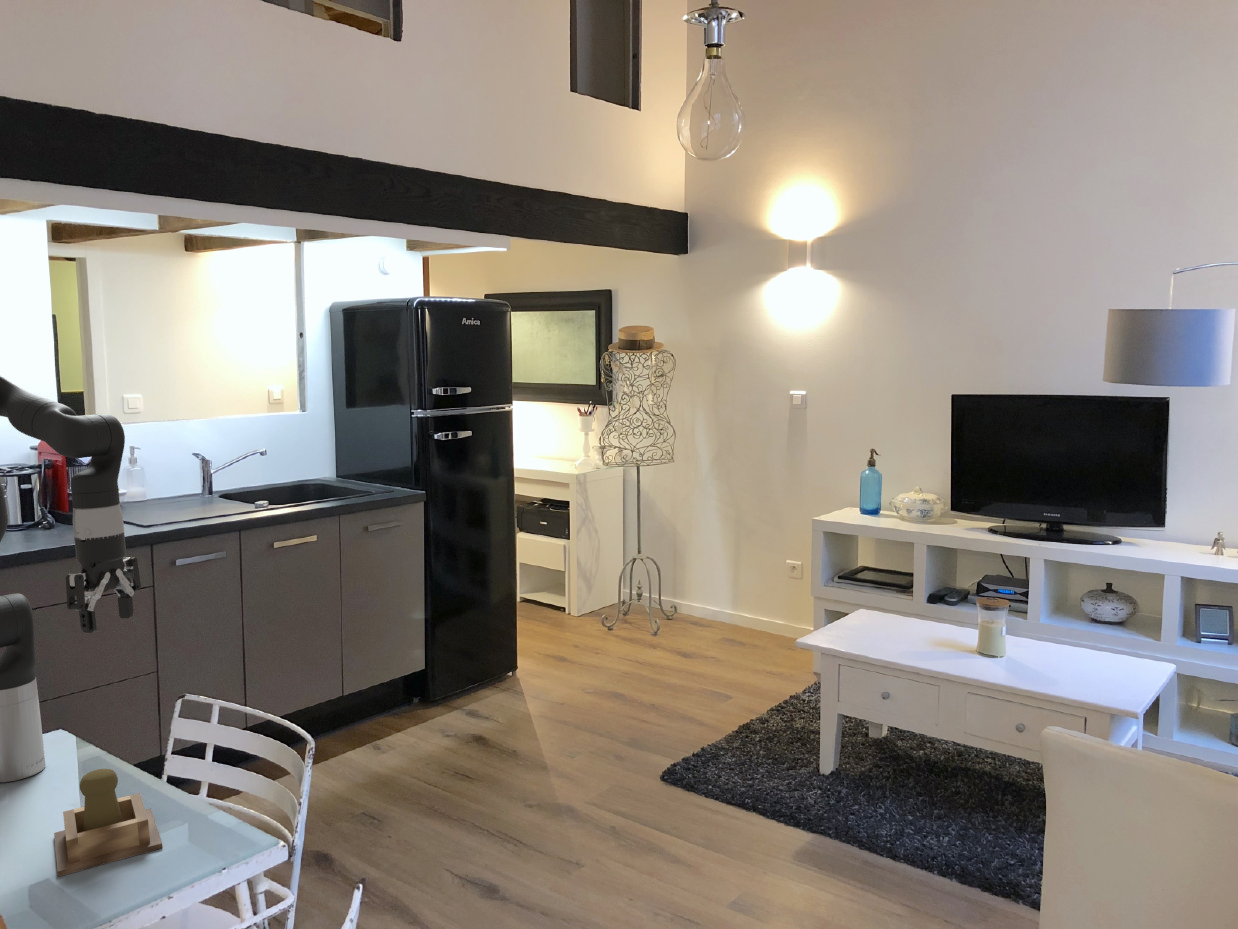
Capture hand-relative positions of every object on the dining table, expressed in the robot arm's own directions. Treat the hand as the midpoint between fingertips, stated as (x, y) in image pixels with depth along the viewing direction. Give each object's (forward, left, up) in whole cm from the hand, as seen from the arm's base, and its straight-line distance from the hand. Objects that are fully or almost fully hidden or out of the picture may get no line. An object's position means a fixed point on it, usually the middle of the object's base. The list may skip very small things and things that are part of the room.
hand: (108, 624), depth 164 cm
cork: (+9, -18, -30) cm, 35 cm away
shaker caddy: (+9, -17, -30) cm, 36 cm away
